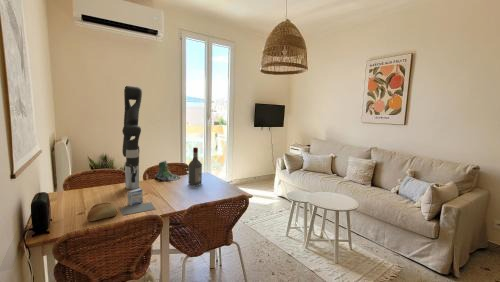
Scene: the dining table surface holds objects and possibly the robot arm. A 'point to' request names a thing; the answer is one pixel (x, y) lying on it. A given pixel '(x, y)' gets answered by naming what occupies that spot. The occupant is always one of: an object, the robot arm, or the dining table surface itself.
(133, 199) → the medicine box
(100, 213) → the bread roll
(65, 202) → the dining table surface
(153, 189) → the dining table surface
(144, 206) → the mat
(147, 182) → the dining table surface
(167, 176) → the tree stump
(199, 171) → the liquor
